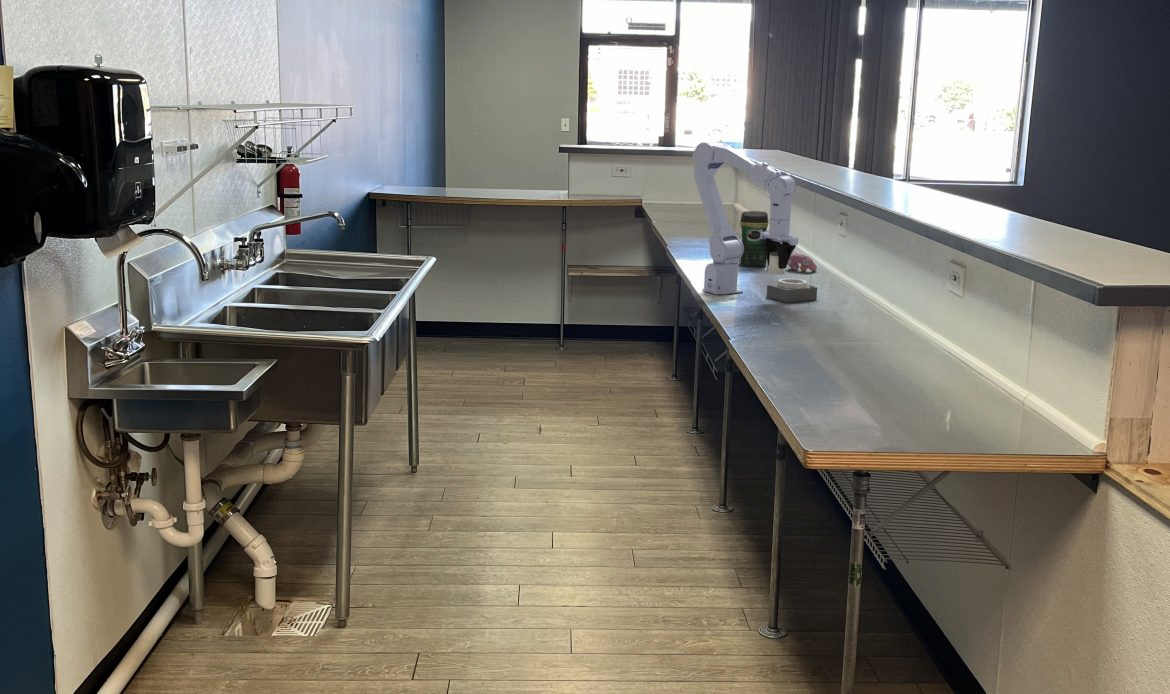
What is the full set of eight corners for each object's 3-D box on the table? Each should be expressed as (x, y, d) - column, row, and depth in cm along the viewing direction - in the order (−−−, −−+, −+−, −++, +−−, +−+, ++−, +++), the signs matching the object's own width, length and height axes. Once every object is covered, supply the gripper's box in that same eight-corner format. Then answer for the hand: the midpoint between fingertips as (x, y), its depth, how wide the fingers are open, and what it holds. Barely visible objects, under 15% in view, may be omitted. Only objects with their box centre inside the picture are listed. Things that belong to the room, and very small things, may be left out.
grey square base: (786, 302, 292) (787, 285, 291) (766, 296, 300) (767, 279, 298) (816, 299, 297) (817, 282, 296) (796, 293, 305) (797, 277, 304)
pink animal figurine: (786, 273, 349) (782, 256, 345) (793, 266, 351) (789, 248, 348) (811, 277, 342) (807, 259, 338) (818, 270, 345) (815, 252, 341)
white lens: (775, 275, 291) (776, 253, 289) (765, 272, 294) (766, 251, 293) (787, 273, 293) (788, 253, 291) (777, 271, 296) (779, 250, 295)
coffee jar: (765, 263, 358) (769, 210, 354) (766, 267, 350) (770, 212, 346) (737, 262, 359) (740, 209, 355) (738, 266, 351) (741, 212, 347)
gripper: (808, 221, 286) (804, 270, 289) (775, 215, 298) (772, 262, 301) (787, 222, 282) (784, 271, 286) (755, 216, 295) (752, 264, 298)
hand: (777, 267), depth 293 cm, fingers closed on white lens, 4 cm apart
